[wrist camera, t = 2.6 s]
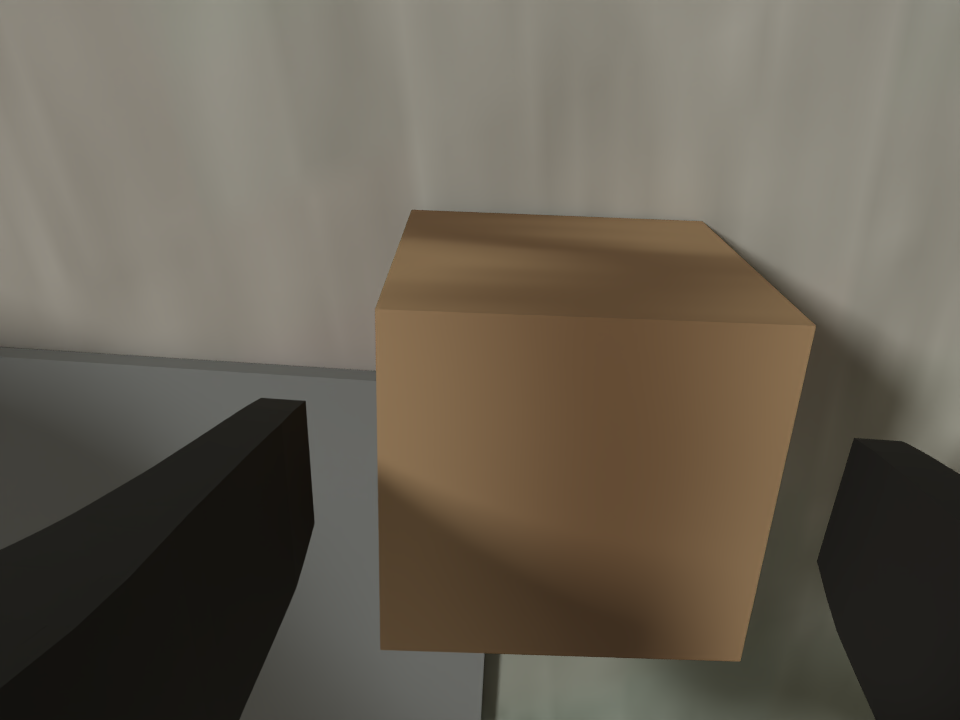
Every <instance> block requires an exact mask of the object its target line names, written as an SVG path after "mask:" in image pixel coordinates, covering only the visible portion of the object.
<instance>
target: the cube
mask: <svg viewBox="0 0 960 720" xmlns="http://www.w3.org/2000/svg"><path fill="white" fill-rule="evenodd" d="M815 329H816V325H815V324H813V323H812V322H811V321H810V320H809V319H808V318H807V317H806V316H805V315H804V314H803V313H802V312H800V311H799V310H798V309H797V308H796V307H795V306H794V305H793V304H792V303H791V302H790V301H788V300H787V299H786V298H785V297H784V296H783V295H782V294H781V293H780V292H779V291H778V290H776V289H775V288H774V287H773V286H772V285H771V284H770V283H769V282H768V281H767V280H766V279H764V278H763V277H762V276H761V275H760V274H759V273H758V272H757V271H756V270H755V269H754V268H752V267H751V266H750V265H749V264H748V263H747V262H746V261H745V260H744V259H743V258H742V257H740V256H739V255H738V254H737V253H736V252H735V251H734V250H733V249H732V248H731V247H730V246H729V245H727V244H726V243H725V242H724V241H723V240H722V239H721V238H720V237H719V236H718V235H717V234H715V233H714V232H713V231H712V230H711V229H710V228H709V227H708V226H707V225H706V224H705V223H703V222H702V221H679V220H654V219H628V218H603V217H578V216H553V215H528V214H502V213H477V212H452V211H427V210H411V213H410V216H409V219H408V221H407V224H406V227H405V229H404V232H403V235H402V238H401V240H400V243H399V246H398V249H397V251H396V254H395V257H394V259H393V262H392V265H391V268H390V270H389V273H388V276H387V278H386V281H385V284H384V287H383V289H382V292H381V295H380V297H379V300H378V303H377V306H376V308H375V330H376V397H377V464H378V531H379V598H380V650H396V651H427V652H458V653H490V654H521V655H552V656H584V657H615V658H646V659H678V660H709V661H740V660H741V656H742V651H743V647H744V642H745V638H746V634H747V629H748V625H749V620H750V616H751V612H752V607H753V603H754V598H755V594H756V589H757V585H758V581H759V576H760V572H761V567H762V563H763V558H764V554H765V550H766V545H767V541H768V536H769V532H770V528H771V523H772V519H773V514H774V510H775V505H776V501H777V497H778V492H779V488H780V483H781V479H782V474H783V470H784V466H785V461H786V457H787V452H788V448H789V444H790V439H791V435H792V430H793V426H794V421H795V417H796V413H797V408H798V404H799V399H800V395H801V391H802V386H803V382H804V377H805V373H806V368H807V364H808V360H809V355H810V351H811V346H812V342H813V337H814V333H815Z"/></svg>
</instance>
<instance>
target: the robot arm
mask: <svg viewBox="0 0 960 720" xmlns="http://www.w3.org/2000/svg"><path fill="white" fill-rule="evenodd" d="M314 524H315V520H314V506H313V493H312V479H311V465H310V452H309V438H308V425H307V411H306V401H301V400H286V399H272V398H260V399H258V400H256V401H254V402H253V403H251V404H249V405H247V406H246V407H244V408H243V409H241V410H239V411H238V412H236V413H235V414H233V415H232V416H230V417H229V418H227V419H225V420H224V421H222V422H221V423H219V424H218V425H216V426H215V427H213V428H212V429H210V430H209V431H207V432H206V433H204V434H203V435H201V436H200V437H198V438H197V439H195V440H194V441H192V442H190V443H189V444H187V445H186V446H184V447H183V448H181V449H180V450H178V451H177V452H175V453H173V454H172V455H170V456H169V457H167V458H166V459H164V460H163V461H161V462H160V463H158V464H156V465H155V466H153V467H152V468H150V469H148V470H147V471H145V472H143V473H142V474H140V475H138V476H137V477H135V478H133V479H131V480H130V481H128V482H126V483H125V484H123V485H121V486H120V487H118V488H116V489H114V490H113V491H111V492H109V493H108V494H106V495H104V496H102V497H101V498H99V499H97V500H96V501H94V502H92V503H90V504H89V505H87V506H85V507H84V508H82V509H80V510H78V511H77V512H75V513H73V514H71V515H69V516H67V517H65V518H64V519H62V520H60V521H58V522H56V523H54V524H52V525H50V526H48V527H46V528H44V529H42V530H40V531H38V532H36V533H34V534H32V535H30V536H28V537H26V538H24V539H22V540H20V541H18V542H16V543H13V544H11V545H9V546H7V547H5V548H3V549H1V550H0V720H239V719H240V717H241V715H242V712H243V710H244V708H245V706H246V703H247V701H248V699H249V696H250V694H251V692H252V690H253V687H254V685H255V683H256V680H257V678H258V676H259V674H260V671H261V669H262V667H263V665H264V662H265V660H266V658H267V655H268V653H269V651H270V649H271V646H272V644H273V642H274V639H275V637H276V635H277V632H278V630H279V628H280V625H281V623H282V621H283V618H284V616H285V614H286V611H287V609H288V607H289V604H290V602H291V600H292V597H293V595H294V592H295V590H296V588H297V584H298V581H299V577H300V574H301V571H302V567H303V564H304V561H305V557H306V554H307V550H308V546H309V542H310V539H311V535H312V531H313V528H314ZM817 563H818V566H819V570H820V574H821V578H822V581H823V585H824V589H825V593H826V597H827V600H828V603H829V607H830V610H831V613H832V617H833V620H834V623H835V626H836V630H837V632H838V635H839V637H840V640H841V642H842V644H843V647H844V649H845V651H846V654H847V656H848V658H849V660H850V663H851V665H852V667H853V670H854V672H855V674H856V676H857V679H858V681H859V683H860V686H861V688H862V690H863V692H864V695H865V697H866V699H867V701H868V703H869V706H870V708H871V710H872V712H873V715H874V717H875V719H876V720H960V474H958V473H957V472H955V471H953V470H952V469H950V468H949V467H947V466H945V465H944V464H942V463H940V462H939V461H937V460H936V459H934V458H932V457H930V456H929V455H927V454H925V453H924V452H922V451H920V450H918V449H916V448H914V447H912V446H910V445H909V444H907V443H905V442H902V441H889V440H874V439H860V438H854V440H853V443H852V447H851V450H850V453H849V457H848V460H847V463H846V467H845V470H844V473H843V477H842V480H841V483H840V487H839V490H838V493H837V497H836V500H835V503H834V506H833V510H832V513H831V516H830V520H829V523H828V526H827V530H826V533H825V536H824V540H823V543H822V546H821V550H820V553H819V556H818V560H817Z"/></svg>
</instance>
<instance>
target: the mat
mask: <svg viewBox="0 0 960 720" xmlns="http://www.w3.org/2000/svg"><path fill="white" fill-rule="evenodd" d="M260 398H272V399H286V400H301V401H306V411H307V425H308V438H309V452H310V465H311V479H312V493H313V506H314V520H315V524H314V528H313V531H312V535H311V539H310V542H309V546H308V550H307V554H306V557H305V561H304V564H303V567H302V571H301V574H300V577H299V581H298V584H297V588H296V590H295V592H294V595H293V597H292V600H291V602H290V604H289V607H288V609H287V611H286V614H285V616H284V618H283V621H282V623H281V625H280V628H279V630H278V632H277V635H276V637H275V639H274V642H273V644H272V646H271V649H270V651H269V653H268V655H267V658H266V660H265V662H264V665H263V667H262V669H261V671H260V674H259V676H258V678H257V680H256V683H255V685H254V687H253V690H252V692H251V694H250V696H249V699H248V701H247V703H246V706H245V708H244V710H243V712H242V715H241V717H240V719H239V720H481V710H482V693H483V675H484V657H485V653H458V652H427V651H396V650H380V598H379V531H378V464H377V397H376V371H367V370H351V369H335V368H320V367H304V366H288V365H273V364H257V363H241V362H226V361H210V360H194V359H179V358H163V357H147V356H132V355H116V354H101V353H85V352H69V351H54V350H38V349H22V348H7V347H0V550H1V549H3V548H5V547H7V546H9V545H11V544H13V543H16V542H18V541H20V540H22V539H24V538H26V537H28V536H30V535H32V534H34V533H36V532H38V531H40V530H42V529H44V528H46V527H48V526H50V525H52V524H54V523H56V522H58V521H60V520H62V519H64V518H65V517H67V516H69V515H71V514H73V513H75V512H77V511H78V510H80V509H82V508H84V507H85V506H87V505H89V504H90V503H92V502H94V501H96V500H97V499H99V498H101V497H102V496H104V495H106V494H108V493H109V492H111V491H113V490H114V489H116V488H118V487H120V486H121V485H123V484H125V483H126V482H128V481H130V480H131V479H133V478H135V477H137V476H138V475H140V474H142V473H143V472H145V471H147V470H148V469H150V468H152V467H153V466H155V465H156V464H158V463H160V462H161V461H163V460H164V459H166V458H167V457H169V456H170V455H172V454H173V453H175V452H177V451H178V450H180V449H181V448H183V447H184V446H186V445H187V444H189V443H190V442H192V441H194V440H195V439H197V438H198V437H200V436H201V435H203V434H204V433H206V432H207V431H209V430H210V429H212V428H213V427H215V426H216V425H218V424H219V423H221V422H222V421H224V420H225V419H227V418H229V417H230V416H232V415H233V414H235V413H236V412H238V411H239V410H241V409H243V408H244V407H246V406H247V405H249V404H251V403H253V402H254V401H256V400H258V399H260Z"/></svg>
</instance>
